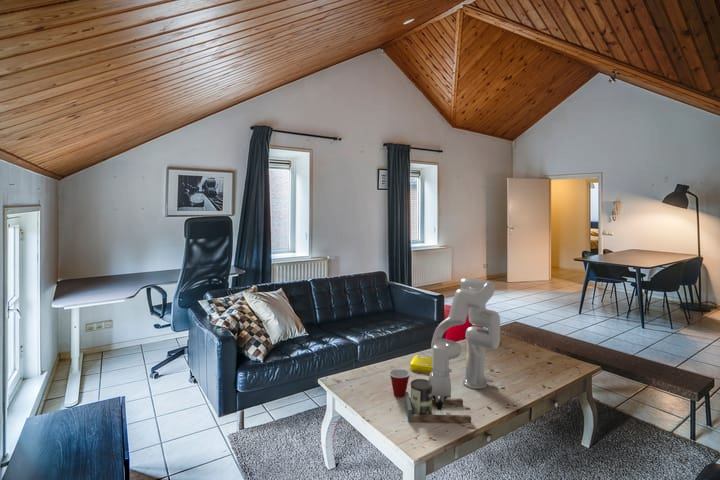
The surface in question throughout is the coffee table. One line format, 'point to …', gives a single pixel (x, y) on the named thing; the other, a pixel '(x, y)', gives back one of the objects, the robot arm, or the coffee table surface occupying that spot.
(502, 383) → the coffee table surface
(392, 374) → the plastic cup
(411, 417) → the frame
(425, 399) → the coffee can
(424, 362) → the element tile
